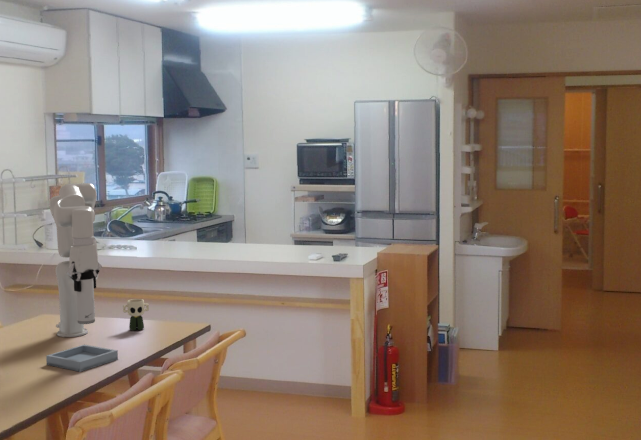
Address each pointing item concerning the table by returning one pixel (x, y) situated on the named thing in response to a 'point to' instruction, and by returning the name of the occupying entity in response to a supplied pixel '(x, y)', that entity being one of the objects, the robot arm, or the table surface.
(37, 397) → the table surface
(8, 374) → the table surface
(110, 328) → the table surface
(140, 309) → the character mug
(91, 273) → the travel mug
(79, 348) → the tray
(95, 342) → the table surface
